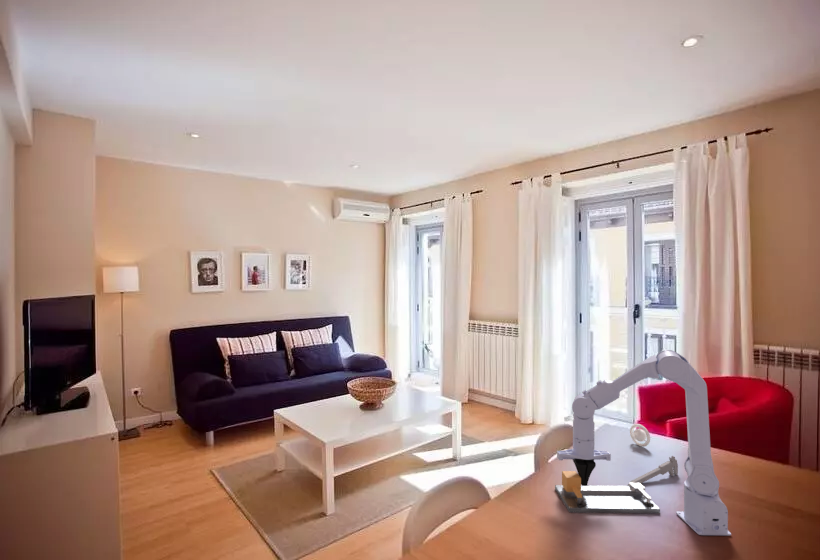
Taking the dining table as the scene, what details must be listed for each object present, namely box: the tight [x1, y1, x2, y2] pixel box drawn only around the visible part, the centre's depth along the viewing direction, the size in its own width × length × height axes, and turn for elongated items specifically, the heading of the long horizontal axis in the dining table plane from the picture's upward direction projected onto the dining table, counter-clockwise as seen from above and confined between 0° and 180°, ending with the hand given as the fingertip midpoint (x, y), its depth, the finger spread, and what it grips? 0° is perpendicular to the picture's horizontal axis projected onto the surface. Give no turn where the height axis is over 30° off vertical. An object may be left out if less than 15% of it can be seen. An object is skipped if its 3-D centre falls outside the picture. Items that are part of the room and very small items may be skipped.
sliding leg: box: [561, 470, 582, 504], centre depth 118 cm, size 8×4×5 cm, turn 178°
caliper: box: [626, 455, 679, 486], centre depth 129 cm, size 20×1×6 cm, turn 111°
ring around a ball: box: [629, 423, 651, 448], centre depth 154 cm, size 8×6×8 cm
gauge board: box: [554, 482, 661, 514], centre depth 118 cm, size 12×24×3 cm, turn 88°
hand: (583, 484), depth 120 cm, fingers closed
